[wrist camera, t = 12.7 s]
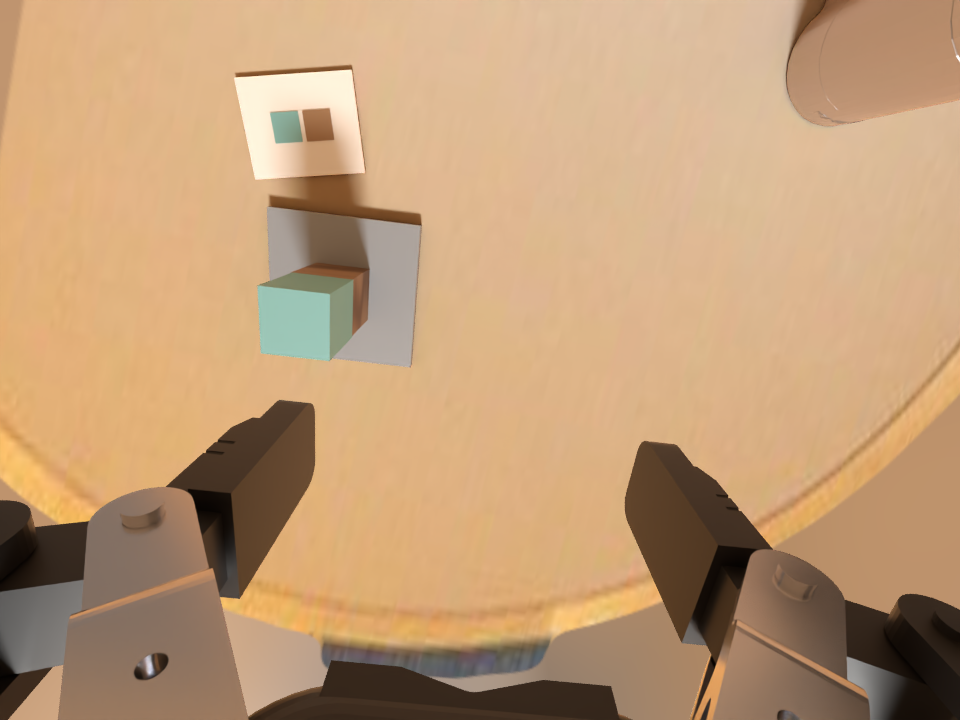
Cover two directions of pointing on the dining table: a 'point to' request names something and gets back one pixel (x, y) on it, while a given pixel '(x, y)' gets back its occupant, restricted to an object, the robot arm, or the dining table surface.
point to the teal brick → (305, 315)
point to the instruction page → (301, 124)
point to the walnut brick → (359, 286)
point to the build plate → (363, 246)
